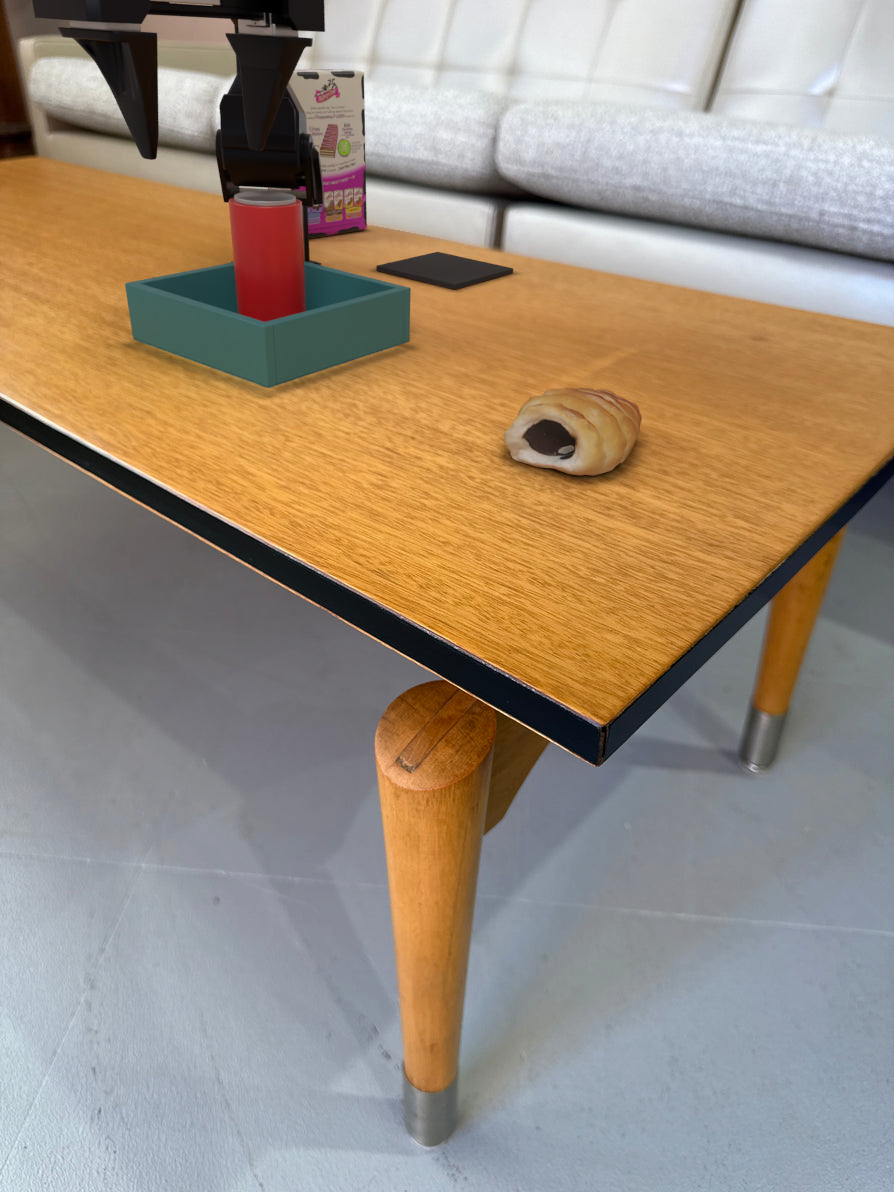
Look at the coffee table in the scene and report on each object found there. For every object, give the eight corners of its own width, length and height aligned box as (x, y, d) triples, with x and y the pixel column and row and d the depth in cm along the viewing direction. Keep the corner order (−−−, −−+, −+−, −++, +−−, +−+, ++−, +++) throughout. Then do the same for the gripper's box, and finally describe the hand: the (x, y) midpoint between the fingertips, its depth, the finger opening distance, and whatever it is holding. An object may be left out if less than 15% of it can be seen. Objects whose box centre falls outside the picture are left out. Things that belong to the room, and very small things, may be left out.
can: (275, 326, 69) (267, 188, 63) (321, 340, 66) (316, 197, 61) (226, 339, 65) (213, 194, 60) (272, 354, 63) (262, 205, 57)
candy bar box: (340, 223, 107) (337, 68, 98) (368, 230, 104) (367, 71, 95) (267, 233, 100) (256, 67, 91) (294, 241, 97) (286, 70, 88)
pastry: (569, 412, 57) (577, 356, 55) (664, 440, 54) (676, 381, 52) (493, 457, 51) (499, 395, 49) (597, 492, 48) (608, 426, 46)
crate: (278, 308, 75) (275, 253, 72) (409, 347, 67) (411, 287, 65) (133, 345, 65) (124, 282, 62) (268, 394, 57) (264, 326, 55)
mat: (437, 256, 94) (437, 251, 94) (513, 273, 90) (513, 268, 89) (376, 270, 88) (376, 265, 87) (454, 289, 83) (454, 284, 82)
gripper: (211, -116, 61) (230, 134, 69) (-54, -166, 48) (10, 149, 57) (327, -122, 55) (333, 150, 64) (64, -179, 43) (115, 171, 51)
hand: (205, 154), depth 59 cm, fingers open, 9 cm apart
